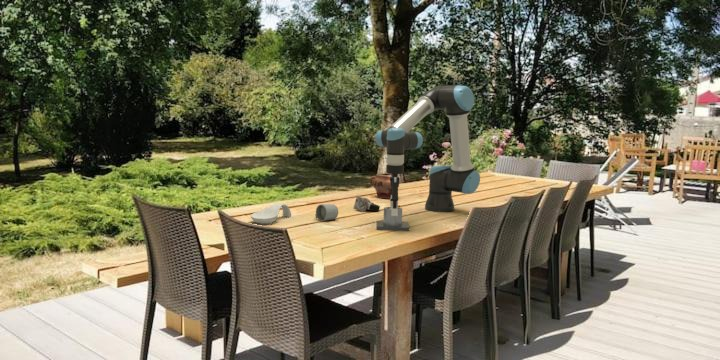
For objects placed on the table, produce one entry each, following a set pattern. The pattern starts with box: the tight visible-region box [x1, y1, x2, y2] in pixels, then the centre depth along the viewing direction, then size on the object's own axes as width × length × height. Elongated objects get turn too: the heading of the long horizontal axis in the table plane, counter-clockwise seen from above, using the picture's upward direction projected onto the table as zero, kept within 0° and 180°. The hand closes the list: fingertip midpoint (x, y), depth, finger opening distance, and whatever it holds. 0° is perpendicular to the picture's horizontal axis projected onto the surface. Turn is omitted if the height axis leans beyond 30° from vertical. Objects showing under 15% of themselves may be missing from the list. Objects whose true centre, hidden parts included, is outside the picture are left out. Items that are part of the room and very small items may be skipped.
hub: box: [382, 206, 403, 226], centre depth 248 cm, size 8×8×7 cm
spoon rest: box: [250, 203, 292, 225], centre depth 255 cm, size 24×12×7 cm, turn 153°
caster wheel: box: [353, 195, 381, 213], centre depth 286 cm, size 7×11×10 cm
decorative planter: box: [369, 172, 391, 199], centre depth 329 cm, size 20×12×14 cm, turn 58°
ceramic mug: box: [315, 203, 339, 222], centre depth 261 cm, size 11×8×8 cm
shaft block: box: [376, 208, 410, 232], centre depth 248 cm, size 14×12×8 cm
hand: (393, 212), depth 248 cm, fingers open, 13 cm apart
